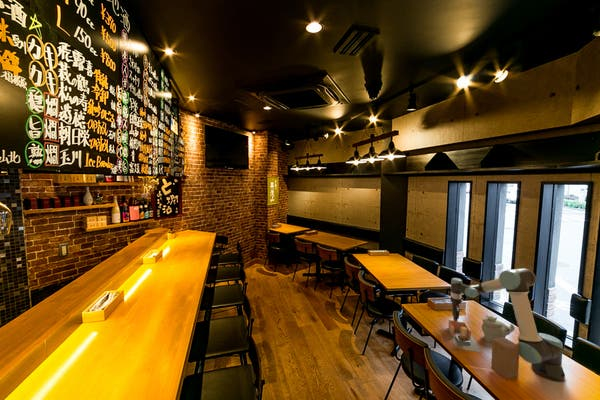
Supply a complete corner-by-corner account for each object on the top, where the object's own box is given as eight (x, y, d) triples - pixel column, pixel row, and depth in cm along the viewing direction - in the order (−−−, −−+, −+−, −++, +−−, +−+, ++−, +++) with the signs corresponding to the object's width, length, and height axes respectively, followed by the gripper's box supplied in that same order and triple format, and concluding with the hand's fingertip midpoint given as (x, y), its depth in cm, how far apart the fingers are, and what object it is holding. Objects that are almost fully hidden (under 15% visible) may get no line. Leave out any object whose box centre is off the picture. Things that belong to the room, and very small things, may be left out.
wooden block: (506, 380, 153) (508, 348, 152) (490, 368, 162) (491, 338, 161) (518, 377, 156) (520, 345, 154) (502, 365, 165) (503, 336, 164)
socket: (470, 344, 185) (470, 342, 185) (458, 343, 187) (458, 340, 187) (466, 338, 193) (467, 336, 193) (454, 336, 195) (455, 334, 195)
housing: (470, 339, 191) (470, 330, 190) (452, 337, 194) (452, 328, 194) (465, 330, 202) (465, 322, 202) (448, 328, 206) (448, 320, 205)
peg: (466, 342, 188) (467, 330, 187) (460, 341, 189) (461, 329, 188) (464, 339, 192) (465, 326, 191) (458, 338, 192) (459, 326, 191)
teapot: (514, 344, 187) (515, 320, 185) (503, 350, 180) (504, 325, 179) (489, 333, 201) (490, 310, 200) (478, 338, 195) (479, 314, 194)
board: (482, 353, 177) (482, 352, 177) (456, 349, 182) (456, 348, 182) (468, 332, 203) (468, 330, 203) (446, 328, 207) (446, 327, 207)
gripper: (463, 301, 200) (462, 330, 201) (458, 294, 212) (457, 322, 213) (453, 300, 202) (452, 329, 203) (448, 293, 214) (447, 320, 216)
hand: (455, 325), depth 208 cm, fingers closed
